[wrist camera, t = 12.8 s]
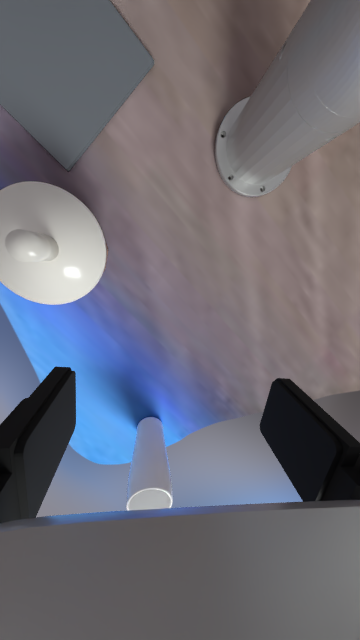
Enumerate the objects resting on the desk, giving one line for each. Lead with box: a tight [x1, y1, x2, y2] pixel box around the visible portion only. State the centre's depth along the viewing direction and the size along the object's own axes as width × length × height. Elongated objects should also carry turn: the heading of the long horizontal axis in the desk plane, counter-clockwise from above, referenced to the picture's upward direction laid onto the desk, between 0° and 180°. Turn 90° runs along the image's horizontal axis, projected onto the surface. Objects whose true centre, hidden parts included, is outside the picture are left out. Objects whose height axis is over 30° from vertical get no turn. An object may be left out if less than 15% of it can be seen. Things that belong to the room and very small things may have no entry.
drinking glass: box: [126, 417, 172, 511], centre depth 38 cm, size 7×7×15 cm
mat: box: [0, 0, 154, 171], centre depth 26 cm, size 18×18×1 cm
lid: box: [0, 181, 107, 305], centre depth 25 cm, size 15×15×6 cm
